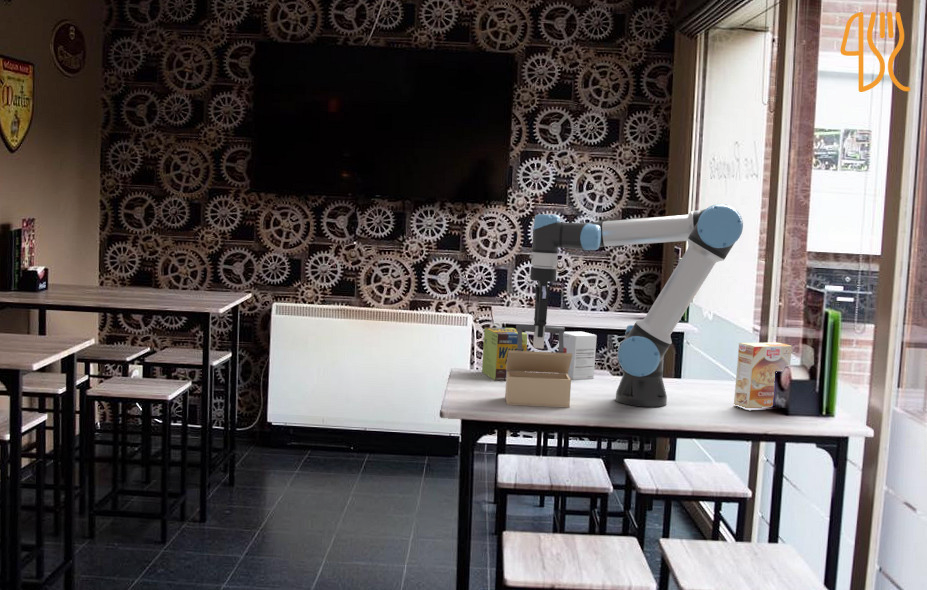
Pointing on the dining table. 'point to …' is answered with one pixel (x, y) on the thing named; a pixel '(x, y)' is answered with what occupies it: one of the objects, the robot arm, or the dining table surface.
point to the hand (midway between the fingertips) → (538, 347)
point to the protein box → (499, 350)
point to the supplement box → (580, 354)
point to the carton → (537, 389)
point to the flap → (539, 355)
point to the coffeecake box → (759, 372)
